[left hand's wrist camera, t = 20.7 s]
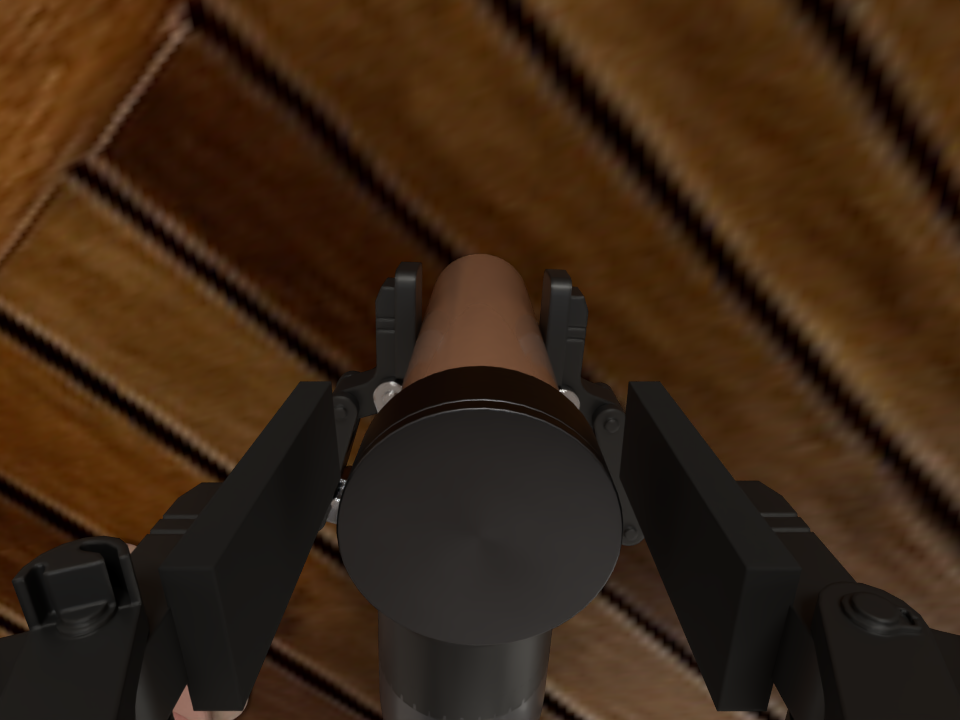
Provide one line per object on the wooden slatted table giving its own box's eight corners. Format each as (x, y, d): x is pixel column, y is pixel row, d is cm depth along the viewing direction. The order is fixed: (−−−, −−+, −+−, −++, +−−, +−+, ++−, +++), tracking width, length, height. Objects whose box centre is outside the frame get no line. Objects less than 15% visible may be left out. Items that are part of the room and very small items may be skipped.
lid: (579, 339, 11) (599, 378, 9) (618, 551, 13) (641, 620, 11) (324, 395, 12) (295, 443, 10) (397, 593, 13) (383, 666, 11)
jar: (415, 279, 26) (325, 463, 11) (503, 237, 25) (539, 371, 10) (457, 361, 27) (430, 625, 12) (542, 323, 26) (624, 553, 12)
